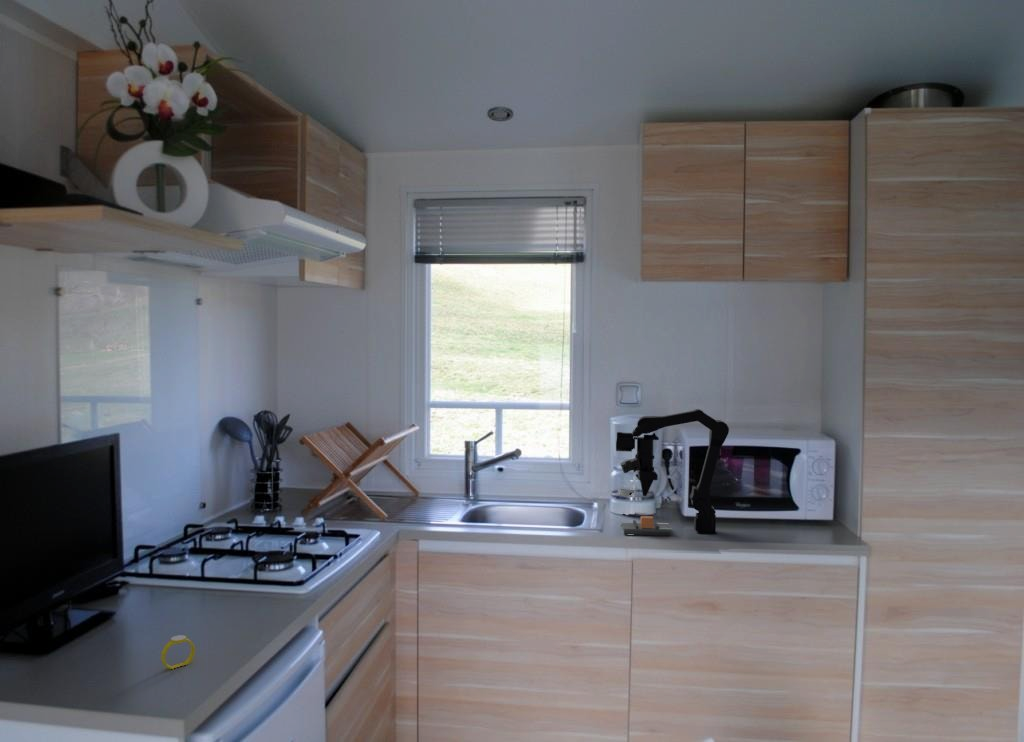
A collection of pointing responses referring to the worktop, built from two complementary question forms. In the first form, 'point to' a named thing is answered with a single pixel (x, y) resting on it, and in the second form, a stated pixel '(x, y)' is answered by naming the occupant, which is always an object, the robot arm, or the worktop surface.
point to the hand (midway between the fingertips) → (644, 495)
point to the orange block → (646, 522)
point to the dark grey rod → (649, 533)
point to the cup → (625, 492)
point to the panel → (637, 528)
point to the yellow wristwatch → (178, 640)
